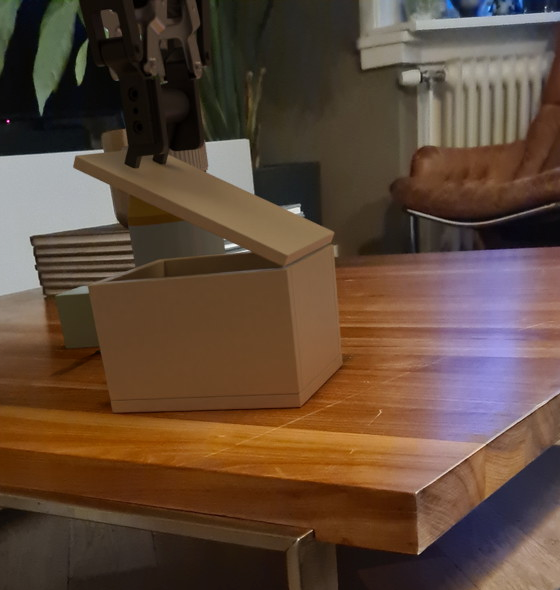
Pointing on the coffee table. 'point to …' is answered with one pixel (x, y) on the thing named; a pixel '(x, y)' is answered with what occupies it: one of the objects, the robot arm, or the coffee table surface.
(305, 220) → the lid
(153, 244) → the bottle
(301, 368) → the tan open box
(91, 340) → the block
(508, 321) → the coffee table surface
